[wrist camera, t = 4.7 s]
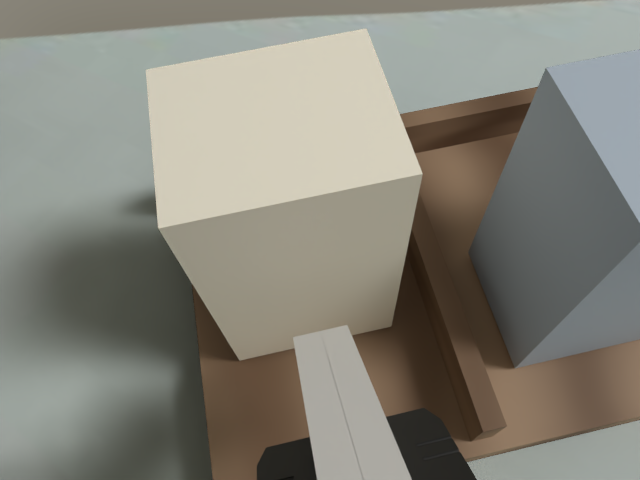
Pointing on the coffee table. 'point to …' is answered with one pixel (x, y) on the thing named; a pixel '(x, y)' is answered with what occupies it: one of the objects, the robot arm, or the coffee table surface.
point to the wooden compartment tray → (430, 327)
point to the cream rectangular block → (285, 187)
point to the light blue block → (568, 216)
